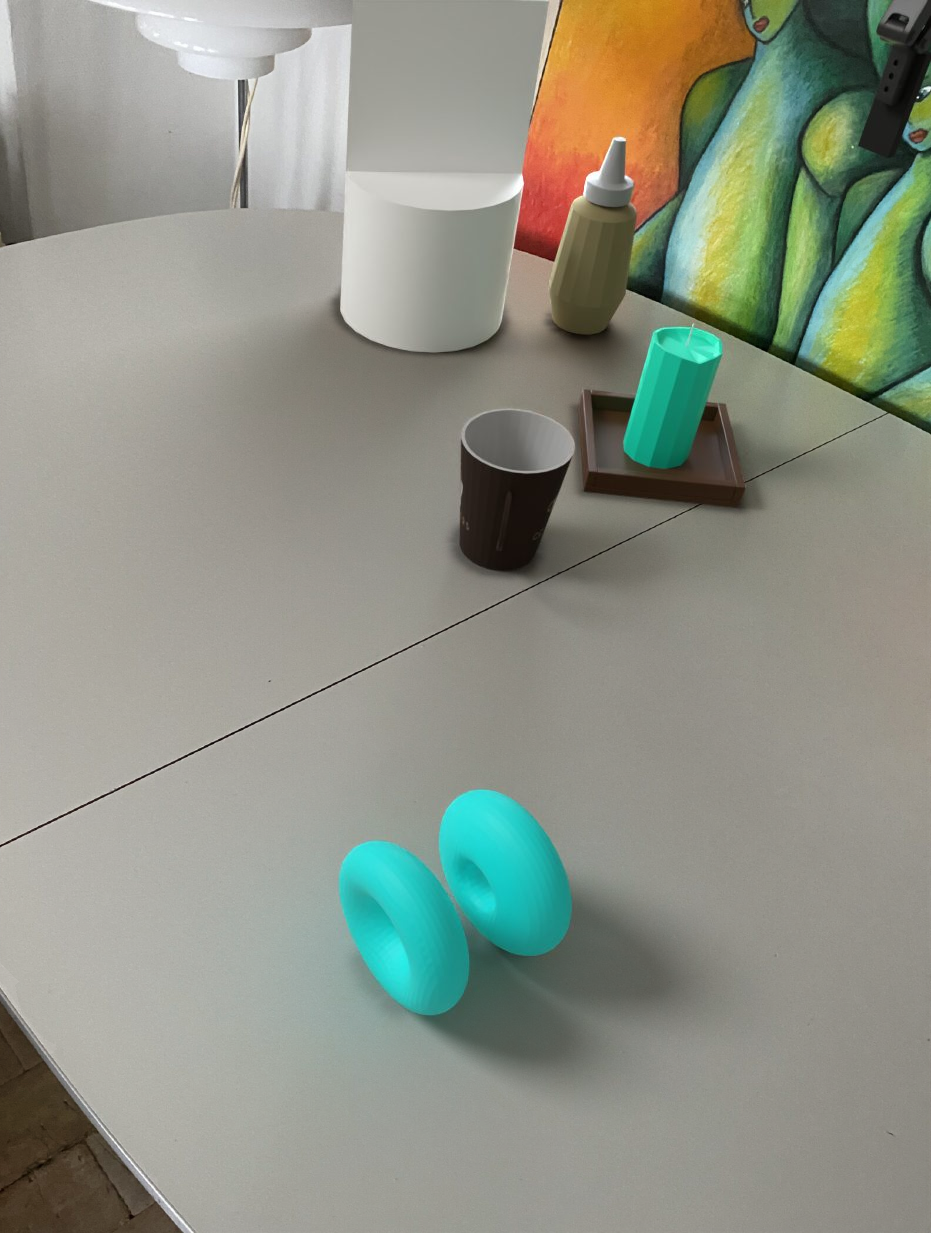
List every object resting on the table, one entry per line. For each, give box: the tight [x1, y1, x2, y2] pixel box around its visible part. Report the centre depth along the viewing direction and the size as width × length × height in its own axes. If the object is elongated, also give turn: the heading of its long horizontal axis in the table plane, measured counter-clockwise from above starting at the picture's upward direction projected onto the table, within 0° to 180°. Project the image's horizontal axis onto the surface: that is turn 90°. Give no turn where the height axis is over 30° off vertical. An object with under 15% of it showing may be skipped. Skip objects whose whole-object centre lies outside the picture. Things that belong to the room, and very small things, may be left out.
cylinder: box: [339, 0, 550, 353], centre depth 102 cm, size 17×17×28 cm
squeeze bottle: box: [547, 136, 638, 335], centre depth 106 cm, size 8×8×18 cm
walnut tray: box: [577, 388, 747, 509], centre depth 97 cm, size 14×14×2 cm
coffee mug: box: [458, 407, 576, 572], centre depth 83 cm, size 12×9×10 cm
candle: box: [623, 323, 724, 469], centre depth 92 cm, size 6×6×12 cm
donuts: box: [338, 788, 573, 1016], centre depth 59 cm, size 10×10×10 cm
